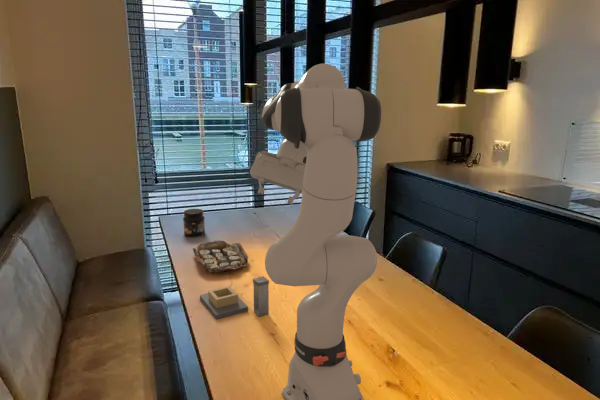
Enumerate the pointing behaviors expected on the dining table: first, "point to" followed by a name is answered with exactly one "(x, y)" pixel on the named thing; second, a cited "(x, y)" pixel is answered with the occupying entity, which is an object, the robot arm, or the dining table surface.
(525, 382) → the dining table surface
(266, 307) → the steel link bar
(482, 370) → the dining table surface
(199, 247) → the baking tray
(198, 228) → the supplement container
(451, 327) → the dining table surface
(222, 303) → the keeper plate
